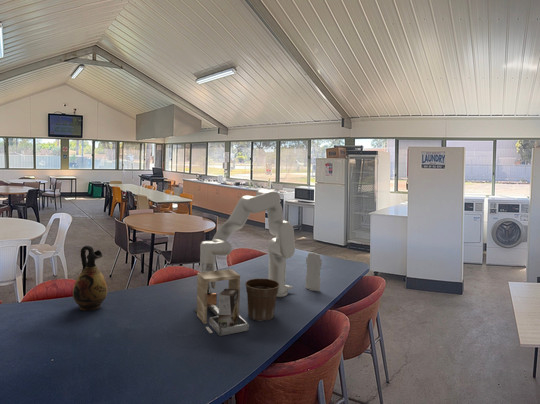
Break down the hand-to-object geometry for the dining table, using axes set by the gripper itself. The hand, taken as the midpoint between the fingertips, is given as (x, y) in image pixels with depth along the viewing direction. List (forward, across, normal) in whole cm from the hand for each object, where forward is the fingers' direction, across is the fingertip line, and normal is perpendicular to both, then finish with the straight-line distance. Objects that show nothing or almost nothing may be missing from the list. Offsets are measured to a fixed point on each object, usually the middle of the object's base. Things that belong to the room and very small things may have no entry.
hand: (207, 301), depth 192 cm
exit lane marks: (+2, -28, 0) cm, 28 cm away
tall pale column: (+2, 0, -64) cm, 64 cm away
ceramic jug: (+2, +20, +53) cm, 57 cm away
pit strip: (+2, -5, 0) cm, 6 cm away
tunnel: (+2, -16, 0) cm, 16 cm away
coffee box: (+2, -29, 0) cm, 29 cm away
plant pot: (+2, -24, -19) cm, 30 cm away
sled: (+2, -19, 0) cm, 19 cm away
